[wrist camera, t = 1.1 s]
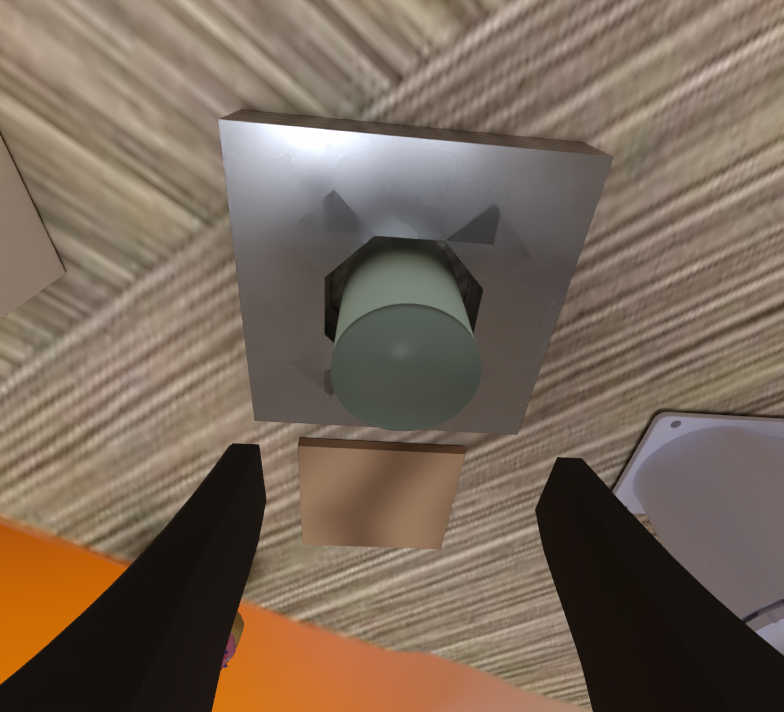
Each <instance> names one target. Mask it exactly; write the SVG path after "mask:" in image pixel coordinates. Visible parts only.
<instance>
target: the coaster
mask: <svg viewBox="0 0 784 712" xmlns="http://www.w3.org/2000/svg"><path fill="white" fill-rule="evenodd" d="M465 455H466V454H465V449H464V446H449V445H430V444H410V443H390V442H371V441H351V440H331V439H312V438H300V439H299V443H298V459H299V480H300V501H301V522H302V543H303V544H310V545H338V546H365V547H393V548H421V549H441V546H442V542H443V539H444V535H445V531H446V527H447V523H448V520H449V516H450V512H451V508H452V504H453V501H454V497H455V493H456V489H457V485H458V481H459V478H460V474H461V470H462V466H463V462H464V459H465Z"/></svg>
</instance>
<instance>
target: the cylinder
mask: <svg viewBox="0 0 784 712" xmlns="http://www.w3.org/2000/svg"><path fill="white" fill-rule="evenodd" d="M481 368H482V365H481V359H480V355H479V352H478V348H477V345H476V342H475V339H474V336H473V332H472V329H471V326H470V323H469V320H468V316H467V313H466V310H465V307H464V303H463V300H462V297H461V294H460V291H459V287H458V284H457V281H456V278H455V275H454V271H453V268H452V265H451V262H450V260H449V258H448V256H447V254H446V253H445V252H444V250H443V249H442V248H441V247H440V246H439V245H438V244H437V243H436V242H435V241H433V240H425V239H412V238H400V237H387V236H374V237H372V238H371V239H370V240H369V241H368V242H366V243H365V244H364V245H363V246H362V247H360V248H359V249H358V250H357V251H356V252H355V253H354V254H353V256H352V258H351V260H350V262H349V264H348V267H347V271H346V276H345V282H344V288H343V294H342V300H341V306H340V312H339V318H338V324H337V330H336V336H335V342H334V348H333V354H332V360H331V368H330V376H331V383H332V387H333V390H334V392H335V394H336V396H337V398H338V400H339V401H340V402H341V404H342V405H343V406H344V407H345V408H346V409H347V410H348V411H349V412H350V413H351V414H352V415H354V416H355V417H357V418H358V419H360V420H362V421H363V422H365V423H368V424H370V425H372V426H375V427H379V428H382V429H387V430H395V431H413V430H420V429H425V428H429V427H432V426H435V425H438V424H440V423H443V422H445V421H446V420H448V419H450V418H452V417H453V416H455V415H456V414H458V413H459V412H460V411H461V410H462V409H463V408H464V407H465V406H466V405H467V404H468V403H469V402H470V400H471V399H472V398H473V396H474V394H475V392H476V391H477V389H478V386H479V383H480V379H481Z"/></svg>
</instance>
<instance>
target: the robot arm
mask: <svg viewBox="0 0 784 712" xmlns="http://www.w3.org/2000/svg"><path fill="white" fill-rule="evenodd" d="M265 505H266V493H265V486H264V478H263V470H262V462H261V455H260V447H259V445H258V444H235V443H233V444H232V445H230V446H229V447H228V448H227V450H226V451H225V453H224V454H223V455H222V457H221V458H220V459H219V461H218V462H217V464H216V465H215V466H214V468H213V469H212V470H211V472H210V473H209V474H208V476H207V477H206V478H205V479H204V481H203V482H202V483H201V485H200V486H199V487H198V488H197V490H196V491H195V492H194V493H193V495H192V496H191V497H190V498H189V499H188V501H187V502H186V503H185V504H184V506H183V507H182V508H181V509H180V510H179V512H178V513H177V514H176V515H175V516H174V518H173V519H172V520H171V521H170V522H169V523H168V525H167V526H166V527H165V528H164V529H163V530H162V531H161V533H160V534H159V535H158V536H157V537H156V538H155V539H154V540H153V541H152V542H151V544H150V545H149V546H148V547H147V548H146V549H145V550H144V551H143V552H142V553H141V555H140V556H139V557H138V558H137V559H136V560H135V561H134V562H133V563H132V564H131V565H130V566H129V567H128V568H127V570H126V571H125V572H124V573H123V574H122V575H121V576H120V577H119V578H118V579H117V580H116V581H115V582H114V583H113V584H112V585H111V586H110V587H109V588H108V589H107V590H106V591H105V592H104V593H103V594H102V595H101V596H100V597H99V598H97V600H96V601H94V602H93V604H91V605H90V606H89V607H88V608H87V609H86V610H85V611H84V612H83V613H82V614H81V615H80V616H79V617H77V618H76V619H75V620H74V621H73V622H72V623H71V624H70V625H69V626H68V627H66V628H65V629H64V630H63V631H62V632H61V633H60V634H59V635H58V636H57V637H55V638H54V639H53V640H52V641H51V642H50V643H49V644H48V645H47V646H46V647H44V648H43V649H42V650H41V651H40V652H39V653H38V654H36V655H35V656H34V657H33V658H32V659H31V660H29V661H28V662H27V663H26V664H25V665H24V666H22V667H21V668H20V669H19V670H18V671H16V672H15V673H14V674H13V675H11V676H10V677H9V678H8V679H7V680H5V681H4V682H3V683H2V684H0V712H212V707H213V702H214V698H215V693H216V689H217V684H218V680H219V675H220V670H221V666H222V662H223V658H224V654H225V651H226V647H227V643H228V640H229V636H230V633H231V630H232V627H233V623H234V620H235V617H236V614H237V610H238V607H239V604H240V601H241V597H242V594H243V591H244V588H245V585H246V581H247V578H248V575H249V571H250V568H251V565H252V562H253V558H254V555H255V552H256V548H257V545H258V541H259V536H260V531H261V526H262V521H263V515H264V510H265ZM535 511H536V516H537V521H538V527H539V532H540V536H541V541H542V545H543V550H544V553H545V556H546V560H547V563H548V566H549V569H550V572H551V575H552V578H553V581H554V584H555V587H556V590H557V593H558V596H559V598H560V601H561V604H562V607H563V610H564V613H565V616H566V619H567V622H568V625H569V628H570V631H571V634H572V637H573V640H574V643H575V646H576V649H577V652H578V655H579V659H580V662H581V665H582V669H583V673H584V677H585V681H586V685H587V689H588V693H589V697H590V702H591V706H592V710H593V712H784V419H780V418H763V417H746V416H728V415H711V414H693V413H676V412H663V413H660V414H658V415H657V416H656V417H655V418H654V420H653V421H652V423H651V425H650V427H649V428H648V430H647V432H646V433H645V435H644V437H643V439H642V440H641V442H640V444H639V446H638V447H637V449H636V451H635V453H634V454H633V456H632V458H631V460H630V461H629V463H628V465H627V467H626V468H625V470H624V472H623V474H622V475H621V477H620V479H619V481H618V482H617V484H616V486H615V488H614V489H613V491H611V490H610V489H609V488H608V487H607V486H606V485H605V483H604V482H603V481H602V480H601V479H600V478H599V477H598V476H597V475H596V473H595V472H594V471H593V470H592V469H591V468H590V467H589V466H588V465H587V464H586V463H585V461H584V460H583V459H582V458H562V457H557V459H556V462H555V464H554V466H553V469H552V471H551V473H550V476H549V478H548V480H547V483H546V485H545V488H544V490H543V492H542V495H541V497H540V499H539V502H538V504H537V506H536V509H535ZM633 514H646V515H647V517H648V519H649V520H650V522H651V524H652V526H653V528H654V529H655V531H656V533H657V535H658V536H659V538H660V540H661V542H662V544H663V545H664V547H665V548H664V547H663V546H662V545H661V544H660V543H659V542H658V541H657V540H656V539H655V538H654V537H653V536H652V535H651V533H650V532H649V531H648V530H647V529H646V528H645V527H644V526H643V525H642V524H641V523H640V522H639V521H638V520H637V519H636V518H635V516H634V515H633Z"/></svg>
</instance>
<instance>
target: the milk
mask: <svg viewBox="0 0 784 712" xmlns="http://www.w3.org/2000/svg"><path fill="white" fill-rule="evenodd" d="M64 274H65V270H64V268H63V266H62V264H61V262H60V259H59V257H58V255H57V253H56V251H55V249H54V247H53V245H52V243H51V241H50V238H49V236H48V234H47V232H46V230H45V228H44V226H43V224H42V222H41V219H40V217H39V215H38V213H37V211H36V209H35V207H34V205H33V203H32V201H31V198H30V196H29V194H28V192H27V190H26V188H25V186H24V184H23V182H22V180H21V177H20V175H19V173H18V171H17V169H16V167H15V165H14V163H13V161H12V158H11V156H10V154H9V152H8V150H7V148H6V146H5V144H4V142H3V140H2V137H1V135H0V320H1V319H2V318H3V317H5V316H6V315H8V314H9V313H11V312H12V311H13V310H15V309H16V308H18V307H19V306H20V305H22V304H23V303H25V302H26V301H27V300H29V299H30V298H32V297H33V296H34V295H36V294H37V293H39V292H40V291H41V290H43V289H44V288H46V287H47V286H49V285H50V284H51V283H53V282H54V281H56V280H57V279H58V278H60V277H61V276H63V275H64Z"/></svg>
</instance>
